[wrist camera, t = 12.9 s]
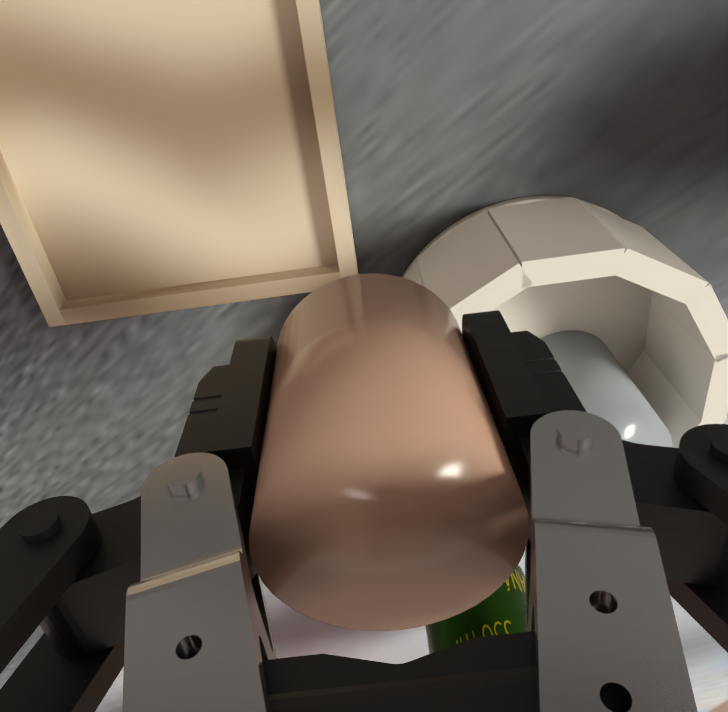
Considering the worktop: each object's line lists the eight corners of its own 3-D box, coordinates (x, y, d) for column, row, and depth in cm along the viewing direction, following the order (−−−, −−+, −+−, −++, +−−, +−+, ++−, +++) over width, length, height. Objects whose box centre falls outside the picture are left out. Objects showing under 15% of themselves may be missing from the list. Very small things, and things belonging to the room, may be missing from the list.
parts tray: (-164, -190, 15) (-200, -202, 14) (281, -263, 14) (277, -280, 13) (62, 311, 22) (49, 327, 21) (358, 270, 22) (359, 285, 21)
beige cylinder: (258, 286, 12) (218, 455, 8) (461, 261, 12) (534, 417, 8) (293, 442, 14) (277, 643, 10) (466, 423, 14) (525, 615, 10)
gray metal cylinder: (510, 338, 23) (551, 420, 19) (616, 323, 23) (680, 402, 19) (511, 419, 25) (548, 510, 21) (608, 406, 25) (664, 494, 21)
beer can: (450, 620, 34) (501, 901, 23) (399, 569, 31) (431, 858, 21) (538, 582, 32) (633, 864, 22) (493, 525, 30) (576, 814, 20)
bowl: (368, 218, 21) (377, 281, 17) (683, 175, 21) (773, 228, 16) (398, 452, 27) (410, 542, 23) (644, 421, 26) (703, 507, 22)
